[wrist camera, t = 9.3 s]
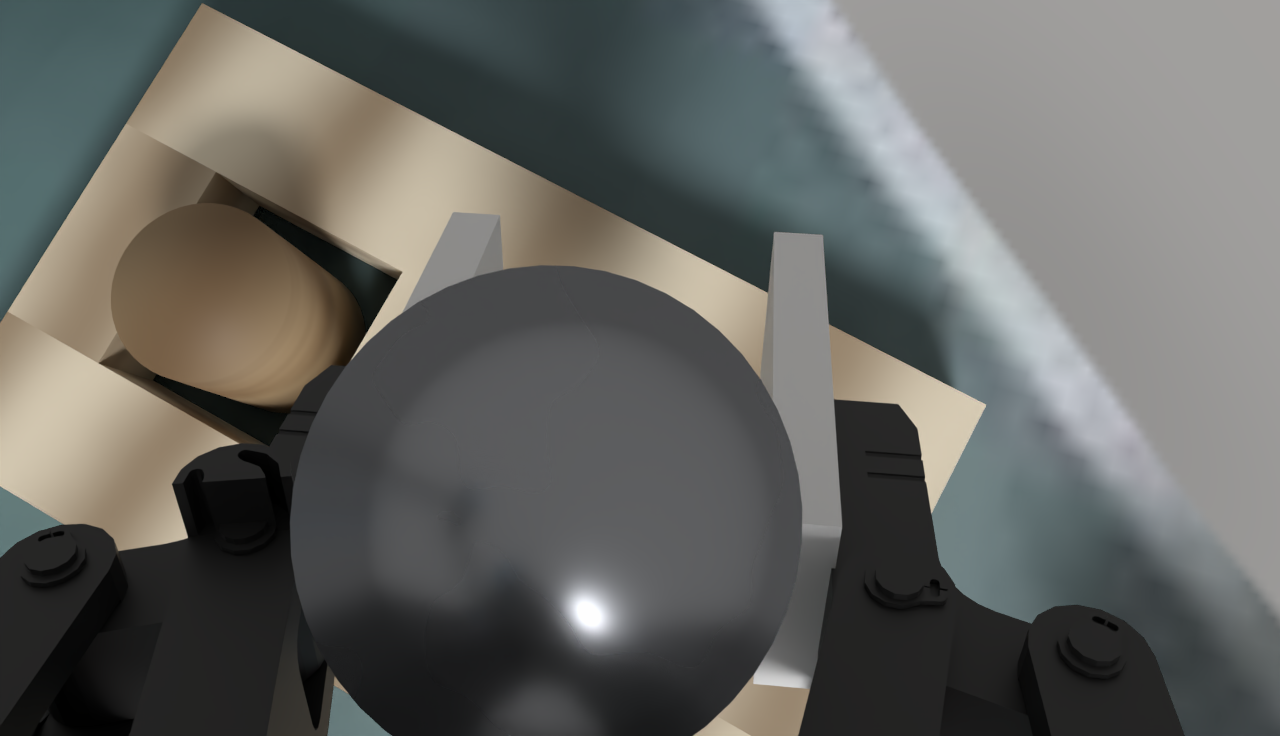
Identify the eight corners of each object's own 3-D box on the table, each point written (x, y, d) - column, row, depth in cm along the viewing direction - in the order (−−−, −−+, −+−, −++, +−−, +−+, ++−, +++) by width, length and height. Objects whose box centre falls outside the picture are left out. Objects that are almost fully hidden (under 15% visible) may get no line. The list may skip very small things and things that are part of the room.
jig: (-5, 451, 33) (-161, 429, 27) (245, 50, 34) (149, -55, 28) (723, 882, 30) (728, 964, 24) (959, 418, 31) (1019, 387, 25)
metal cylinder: (461, 587, 21) (195, 618, 10) (580, 372, 21) (451, 182, 11) (678, 711, 20) (644, 889, 9) (796, 487, 21) (892, 410, 10)
